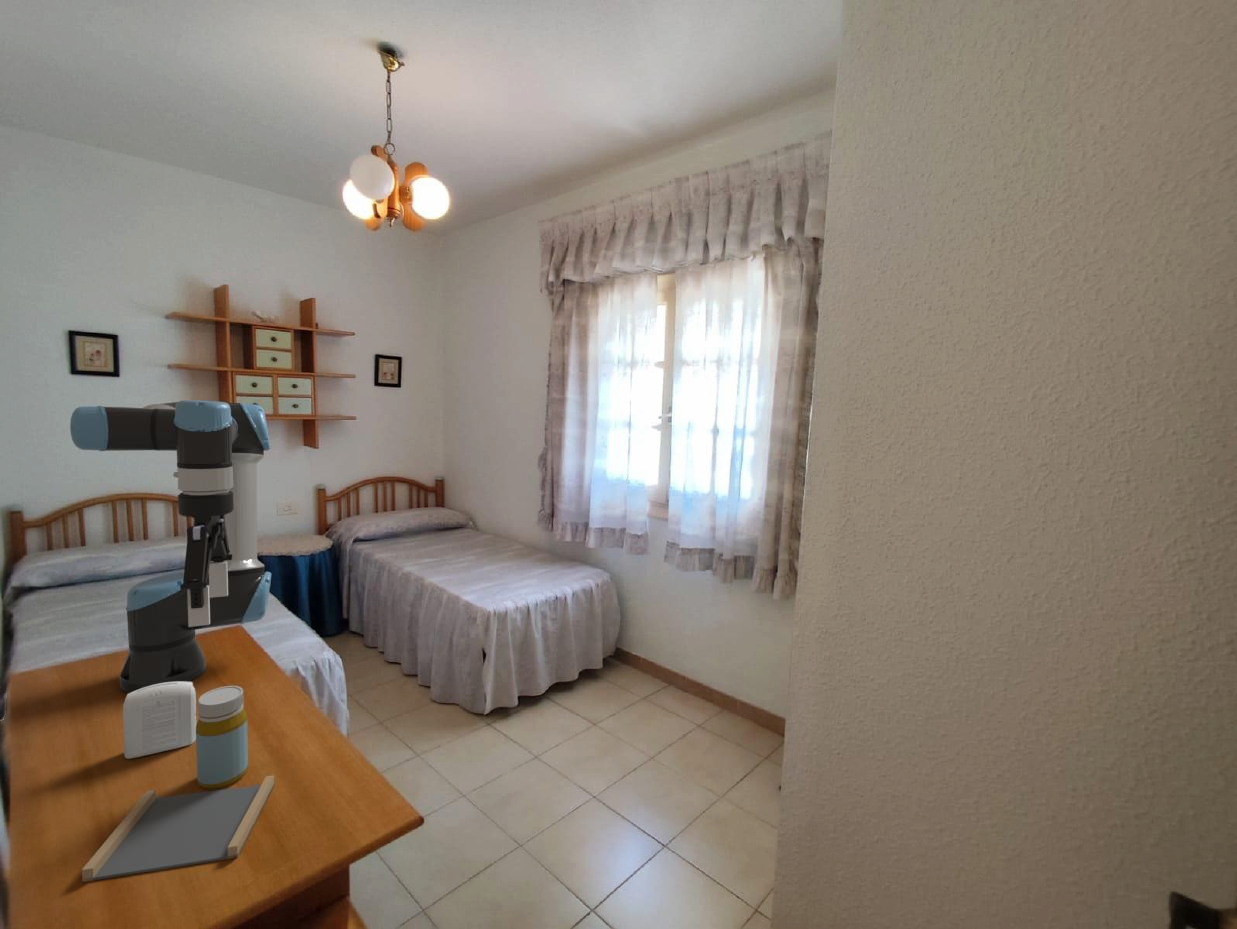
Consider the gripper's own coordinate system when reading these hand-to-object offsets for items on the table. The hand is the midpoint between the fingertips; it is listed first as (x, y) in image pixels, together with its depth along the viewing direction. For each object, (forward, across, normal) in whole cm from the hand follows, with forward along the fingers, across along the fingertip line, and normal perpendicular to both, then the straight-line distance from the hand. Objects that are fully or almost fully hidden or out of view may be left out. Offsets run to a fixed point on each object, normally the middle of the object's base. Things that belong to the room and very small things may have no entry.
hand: (209, 609), depth 93 cm
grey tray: (+28, +18, 0) cm, 33 cm away
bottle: (+28, +6, +2) cm, 29 cm away
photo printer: (+28, -7, -9) cm, 31 cm away
